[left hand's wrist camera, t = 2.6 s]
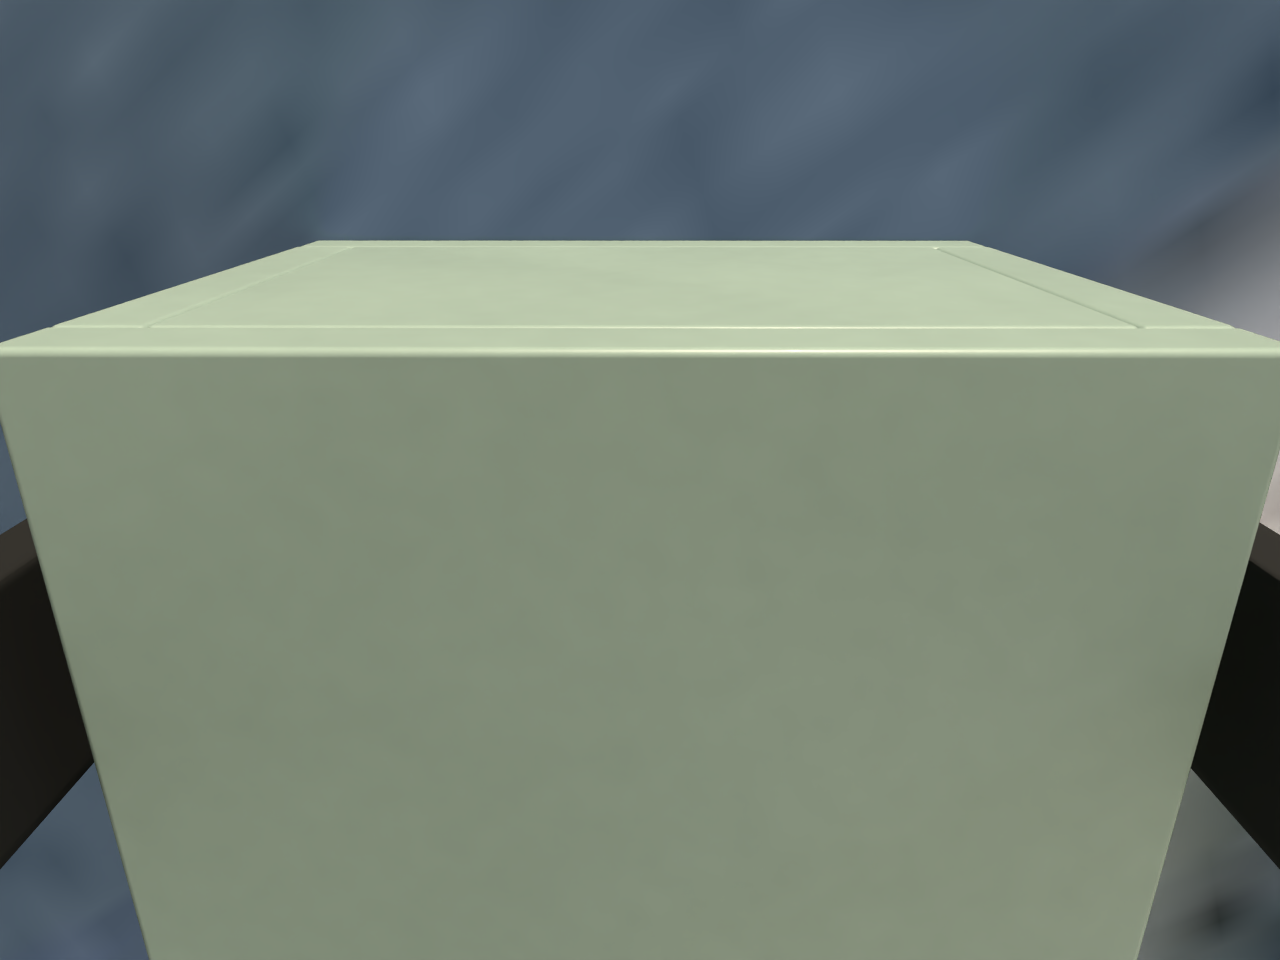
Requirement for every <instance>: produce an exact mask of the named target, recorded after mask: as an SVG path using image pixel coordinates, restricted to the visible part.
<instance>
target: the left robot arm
mask: <svg viewBox="0 0 1280 960" xmlns="http://www.w3.org/2000/svg"><path fill="white" fill-rule="evenodd" d="M93 763H94V759H93V755H92V751H91V748H90V744H89V741H88V737H87V733H86V730H85V726H84V722H83V719H82V715H81V712H80V708H79V704H78V701H77V697H76V694H75V690H74V686H73V683H72V679H71V675H70V672H69V668H68V665H67V661H66V657H65V654H64V650H63V647H62V643H61V639H60V636H59V632H58V629H57V625H56V621H55V618H54V614H53V610H52V607H51V603H50V600H49V596H48V592H47V589H46V585H45V582H44V578H43V574H42V571H41V567H40V563H39V560H38V556H37V553H36V549H35V545H34V542H33V538H32V535H31V531H30V527H29V524H28V520H27V519H25V520H24V521H22V522H21V523H19V524H17V525H16V526H14V527H12V528H11V529H9V530H8V531H6V532H4V533H3V534H1V535H0V869H1V868H2V867H3V865H4V864H5V863H6V862H7V861H8V860H9V859H10V857H11V856H12V855H13V854H14V853H15V852H16V851H17V850H18V848H19V847H20V846H21V845H22V844H23V843H24V842H25V840H26V839H27V838H28V837H29V836H30V835H31V834H32V832H33V831H34V830H35V829H36V828H37V827H38V826H39V824H40V823H41V822H42V821H43V820H44V819H45V818H46V816H47V815H48V814H49V813H50V812H51V811H52V810H53V808H54V807H55V806H56V805H57V804H58V803H59V802H60V801H61V799H62V798H63V797H64V796H65V795H66V794H67V793H68V791H69V790H70V789H71V788H72V787H73V786H74V785H75V783H76V782H77V781H78V780H79V779H80V778H81V777H82V775H83V774H84V773H85V772H86V771H87V770H88V769H89V767H90V766H91V765H92V764H93ZM1191 769H1192V770H1193V771H1194V772H1195V773H1196V774H1197V775H1198V777H1199V778H1200V779H1201V780H1202V781H1203V782H1204V783H1205V785H1206V786H1207V787H1208V788H1209V789H1210V790H1211V791H1212V793H1213V794H1214V795H1215V796H1216V797H1217V798H1218V799H1219V801H1220V802H1221V803H1222V804H1223V805H1224V806H1225V807H1226V808H1227V810H1228V811H1229V812H1230V813H1231V814H1232V815H1233V816H1234V818H1235V819H1236V820H1237V821H1238V822H1239V823H1240V824H1241V826H1242V827H1243V828H1244V829H1245V830H1246V831H1247V832H1248V834H1249V835H1250V836H1251V837H1252V838H1253V839H1254V840H1255V842H1256V843H1257V844H1258V845H1259V846H1260V847H1261V848H1262V850H1263V851H1264V852H1265V853H1266V854H1267V855H1268V856H1269V857H1270V859H1271V860H1272V861H1273V862H1274V863H1275V864H1276V865H1277V867H1278V868H1279V869H1280V535H1279V534H1277V533H1276V532H1274V531H1272V530H1271V529H1269V528H1268V527H1266V526H1264V525H1263V524H1261V523H1259V525H1258V529H1257V532H1256V536H1255V539H1254V543H1253V547H1252V550H1251V554H1250V557H1249V561H1248V564H1247V568H1246V572H1245V575H1244V579H1243V582H1242V586H1241V589H1240V593H1239V597H1238V600H1237V604H1236V607H1235V611H1234V614H1233V618H1232V622H1231V625H1230V629H1229V632H1228V636H1227V639H1226V643H1225V647H1224V650H1223V654H1222V657H1221V661H1220V664H1219V668H1218V672H1217V675H1216V679H1215V682H1214V686H1213V689H1212V693H1211V697H1210V700H1209V704H1208V707H1207V711H1206V714H1205V718H1204V722H1203V725H1202V729H1201V732H1200V736H1199V739H1198V743H1197V747H1196V750H1195V754H1194V757H1193V761H1192V764H1191Z"/></svg>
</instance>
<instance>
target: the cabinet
mask: <svg viewBox="0 0 1280 960" xmlns="http://www.w3.org/2000/svg"><path fill="white" fill-rule="evenodd" d="M0 423H1V426H2V430H3V433H4V437H5V441H6V444H7V448H8V451H9V455H10V459H11V462H12V466H13V470H14V473H15V477H16V480H17V484H18V488H19V491H20V495H21V498H22V502H23V506H24V509H25V513H26V517H27V520H28V524H29V527H30V531H31V535H32V538H33V542H34V545H35V549H36V553H37V556H38V560H39V563H40V567H41V571H42V574H43V578H44V582H45V585H46V589H47V592H48V596H49V600H50V603H51V607H52V610H53V614H54V618H55V621H56V625H57V629H58V632H59V636H60V639H61V643H62V647H63V650H64V654H65V657H66V661H67V665H68V668H69V672H70V675H71V679H72V683H73V686H74V690H75V694H76V697H77V701H78V704H79V708H80V712H81V715H82V719H83V722H84V726H85V730H86V733H87V737H88V741H89V744H90V748H91V751H92V755H93V759H94V762H95V766H96V769H97V773H98V777H99V780H100V784H101V788H102V791H103V795H104V798H105V802H106V806H107V809H108V813H109V816H110V820H111V824H112V827H113V831H114V834H115V838H116V842H117V845H118V849H119V853H120V856H121V860H122V863H123V867H124V871H125V874H126V878H127V881H128V885H129V889H130V892H131V896H132V900H133V903H134V907H135V910H136V914H137V918H138V921H139V925H140V928H141V932H142V936H143V939H144V943H145V946H146V950H147V954H148V957H149V960H1137V957H1138V954H1139V950H1140V947H1141V943H1142V939H1143V936H1144V932H1145V929H1146V925H1147V922H1148V918H1149V914H1150V911H1151V907H1152V904H1153V900H1154V897H1155V893H1156V889H1157V886H1158V882H1159V879H1160V875H1161V872H1162V868H1163V864H1164V861H1165V857H1166V854H1167V850H1168V847H1169V843H1170V839H1171V836H1172V832H1173V829H1174V825H1175V822H1176V818H1177V814H1178V811H1179V807H1180V804H1181V800H1182V797H1183V793H1184V789H1185V786H1186V782H1187V779H1188V775H1189V772H1190V768H1191V764H1192V761H1193V757H1194V754H1195V750H1196V747H1197V743H1198V739H1199V736H1200V732H1201V729H1202V725H1203V722H1204V718H1205V714H1206V711H1207V707H1208V704H1209V700H1210V697H1211V693H1212V689H1213V686H1214V682H1215V679H1216V675H1217V672H1218V668H1219V664H1220V661H1221V657H1222V654H1223V650H1224V647H1225V643H1226V639H1227V636H1228V632H1229V629H1230V625H1231V622H1232V618H1233V614H1234V611H1235V607H1236V604H1237V600H1238V597H1239V593H1240V589H1241V586H1242V582H1243V579H1244V575H1245V572H1246V568H1247V564H1248V561H1249V557H1250V554H1251V550H1252V547H1253V543H1254V539H1255V536H1256V532H1257V529H1258V525H1259V522H1260V518H1261V514H1262V511H1263V507H1264V504H1265V500H1266V497H1267V493H1268V489H1269V486H1270V482H1271V479H1272V475H1273V472H1274V468H1275V464H1276V461H1277V457H1278V454H1279V450H1280V341H1276V340H1273V339H1270V338H1267V337H1264V336H1261V335H1258V334H1255V333H1252V332H1249V331H1245V330H1242V329H1235V328H1234V327H1232V326H1230V325H1227V324H1224V323H1221V322H1218V321H1215V320H1212V319H1209V318H1206V317H1203V316H1200V315H1197V314H1193V313H1190V312H1187V311H1184V310H1181V309H1178V308H1175V307H1172V306H1169V305H1166V304H1162V303H1159V302H1156V301H1153V300H1150V299H1147V298H1144V297H1141V296H1138V295H1135V294H1131V293H1128V292H1125V291H1122V290H1119V289H1116V288H1113V287H1110V286H1107V285H1104V284H1100V283H1097V282H1094V281H1091V280H1088V279H1085V278H1082V277H1079V276H1076V275H1073V274H1070V273H1066V272H1063V271H1060V270H1057V269H1054V268H1051V267H1048V266H1045V265H1042V264H1039V263H1035V262H1032V261H1029V260H1026V259H1023V258H1020V257H1017V256H1014V255H1011V254H1008V253H1004V252H1001V251H998V250H995V249H992V248H989V247H984V246H982V245H979V244H975V243H972V242H969V241H316V242H313V243H310V244H307V245H304V246H302V247H296V248H293V249H290V250H287V251H284V252H281V253H278V254H275V255H272V256H268V257H265V258H262V259H259V260H256V261H253V262H250V263H247V264H244V265H240V266H237V267H234V268H231V269H228V270H225V271H222V272H219V273H216V274H212V275H209V276H206V277H203V278H200V279H197V280H194V281H191V282H188V283H184V284H181V285H178V286H175V287H172V288H169V289H166V290H163V291H160V292H156V293H153V294H150V295H147V296H144V297H141V298H138V299H135V300H132V301H129V302H125V303H122V304H119V305H116V306H113V307H110V308H107V309H104V310H101V311H97V312H94V313H91V314H88V315H85V316H82V317H79V318H76V319H73V320H69V321H66V322H63V323H60V324H57V325H55V326H53V327H52V328H45V329H42V330H39V331H36V332H33V333H30V334H27V335H24V336H21V337H17V338H14V339H11V340H8V341H5V342H2V343H0Z"/></svg>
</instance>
